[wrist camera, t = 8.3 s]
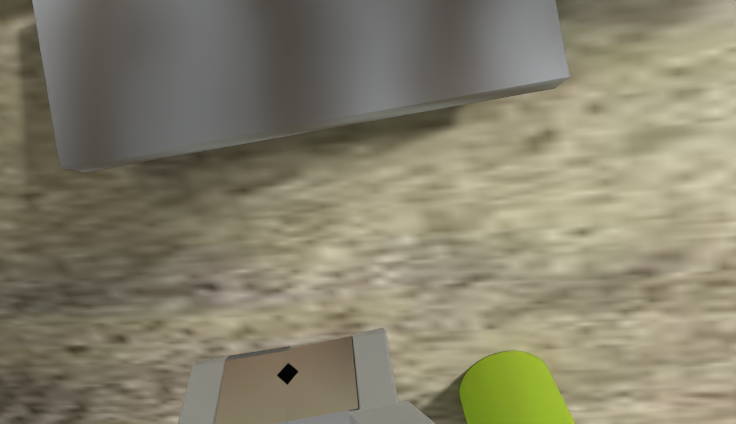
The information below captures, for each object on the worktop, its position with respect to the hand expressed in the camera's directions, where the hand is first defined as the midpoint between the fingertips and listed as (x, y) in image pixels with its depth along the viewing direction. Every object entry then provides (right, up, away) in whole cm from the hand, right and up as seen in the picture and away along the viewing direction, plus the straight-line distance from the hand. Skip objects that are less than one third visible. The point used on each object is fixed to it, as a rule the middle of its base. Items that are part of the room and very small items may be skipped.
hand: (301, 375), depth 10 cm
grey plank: (-2, +9, +16) cm, 19 cm away
